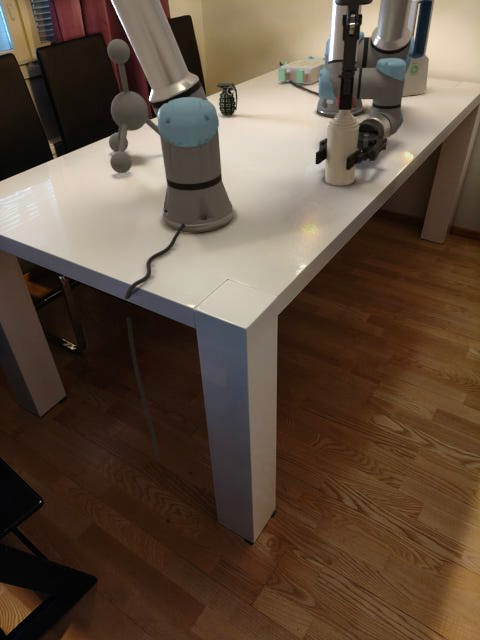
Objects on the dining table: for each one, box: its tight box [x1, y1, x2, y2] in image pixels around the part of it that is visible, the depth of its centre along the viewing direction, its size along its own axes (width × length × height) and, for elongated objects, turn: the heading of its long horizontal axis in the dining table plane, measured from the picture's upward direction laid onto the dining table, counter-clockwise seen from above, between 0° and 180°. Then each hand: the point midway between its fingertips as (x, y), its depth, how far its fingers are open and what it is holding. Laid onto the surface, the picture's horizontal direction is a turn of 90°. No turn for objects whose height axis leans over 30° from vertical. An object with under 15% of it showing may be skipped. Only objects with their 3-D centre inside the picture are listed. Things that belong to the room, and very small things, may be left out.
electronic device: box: [402, 0, 435, 97], centre depth 172 cm, size 12×8×30 cm, turn 105°
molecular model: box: [107, 38, 160, 174], centre depth 130 cm, size 24×22×30 cm
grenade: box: [215, 82, 238, 117], centre depth 166 cm, size 7×6×10 cm
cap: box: [336, 95, 355, 108], centre depth 109 cm, size 4×4×2 cm
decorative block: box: [277, 55, 325, 85], centre depth 206 cm, size 26×6×20 cm
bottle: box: [324, 110, 360, 187], centre depth 115 cm, size 7×7×19 cm
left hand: (345, 106), depth 110 cm, fingers closed on cap, 4 cm apart
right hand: (332, 161), depth 113 cm, fingers closed on bottle, 7 cm apart
